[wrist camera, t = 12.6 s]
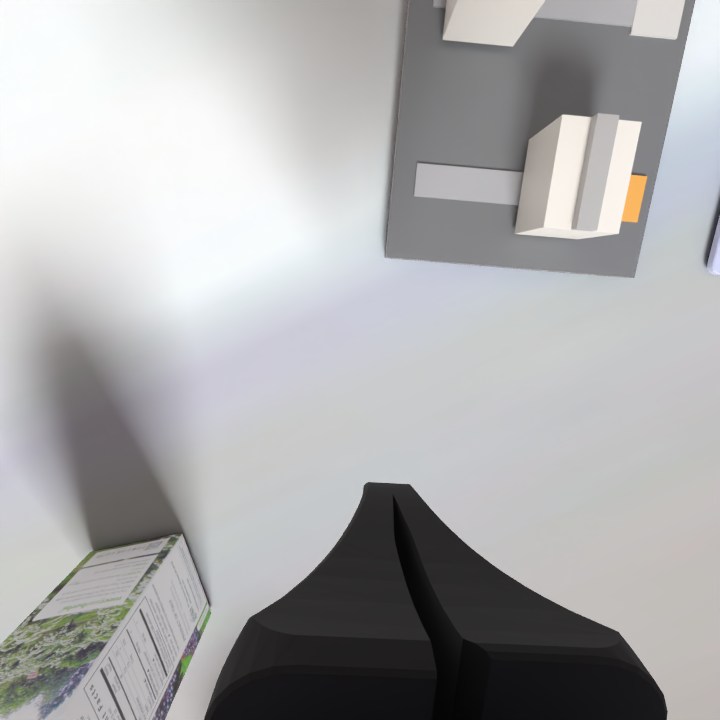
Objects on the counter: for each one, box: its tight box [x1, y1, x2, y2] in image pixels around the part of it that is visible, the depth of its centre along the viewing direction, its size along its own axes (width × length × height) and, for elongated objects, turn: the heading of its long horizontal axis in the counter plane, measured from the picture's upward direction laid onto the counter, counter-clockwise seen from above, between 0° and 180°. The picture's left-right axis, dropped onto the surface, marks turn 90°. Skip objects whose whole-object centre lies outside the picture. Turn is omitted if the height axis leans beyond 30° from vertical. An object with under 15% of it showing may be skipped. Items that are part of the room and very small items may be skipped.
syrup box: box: [0, 533, 211, 720], centre depth 17 cm, size 6×6×14 cm
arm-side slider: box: [514, 113, 642, 239], centre depth 17 cm, size 3×4×3 cm
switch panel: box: [385, 0, 695, 278], centre depth 18 cm, size 12×22×1 cm, turn 175°
